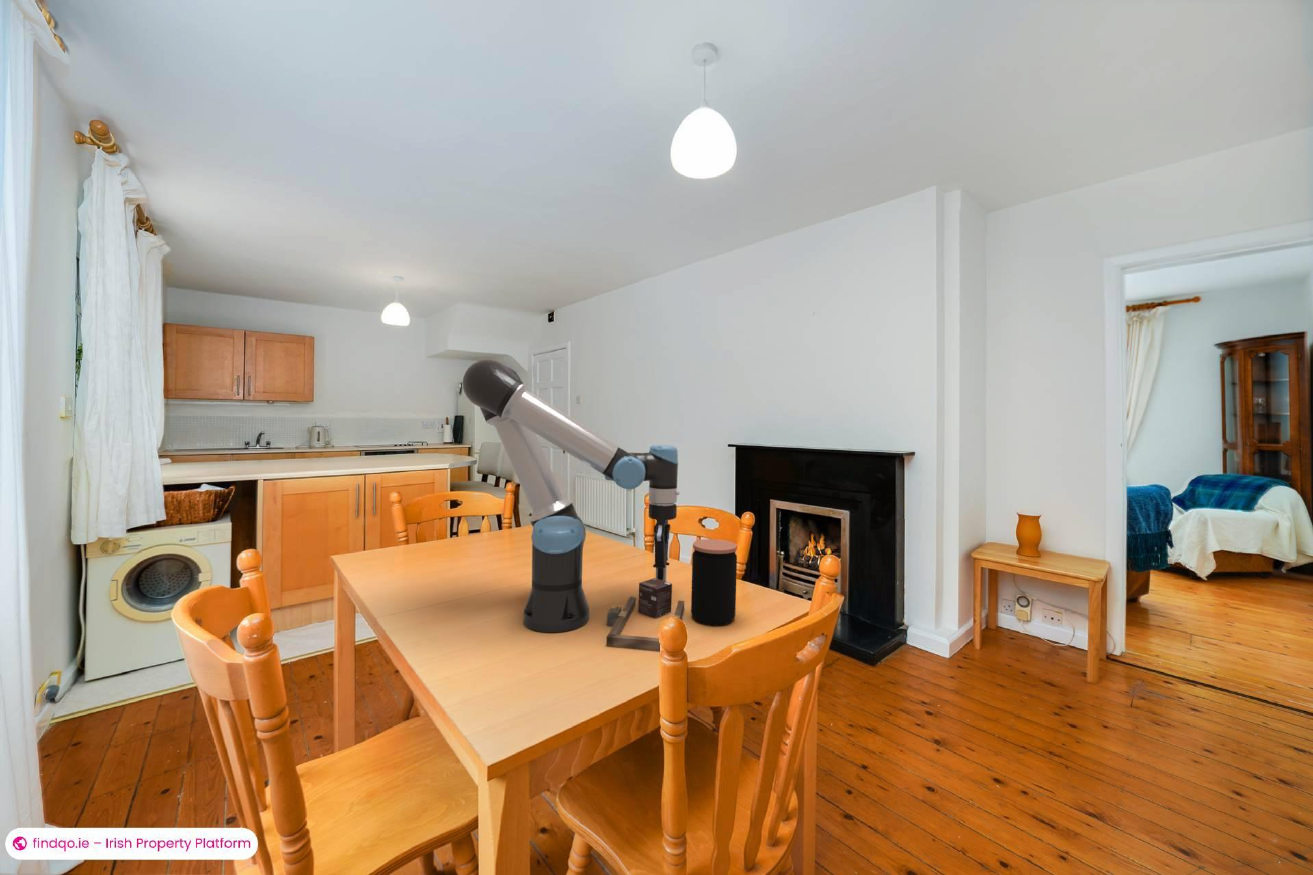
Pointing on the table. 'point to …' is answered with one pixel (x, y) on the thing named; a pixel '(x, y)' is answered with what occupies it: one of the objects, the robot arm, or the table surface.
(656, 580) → the box
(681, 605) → the brown angular bar frame
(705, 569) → the coffee jar
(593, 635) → the table surface
